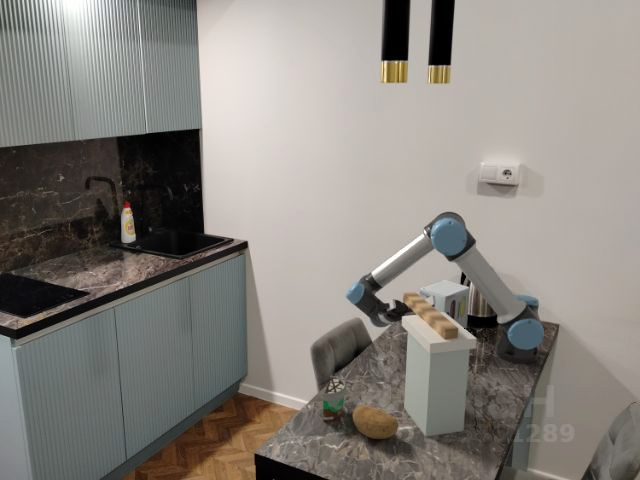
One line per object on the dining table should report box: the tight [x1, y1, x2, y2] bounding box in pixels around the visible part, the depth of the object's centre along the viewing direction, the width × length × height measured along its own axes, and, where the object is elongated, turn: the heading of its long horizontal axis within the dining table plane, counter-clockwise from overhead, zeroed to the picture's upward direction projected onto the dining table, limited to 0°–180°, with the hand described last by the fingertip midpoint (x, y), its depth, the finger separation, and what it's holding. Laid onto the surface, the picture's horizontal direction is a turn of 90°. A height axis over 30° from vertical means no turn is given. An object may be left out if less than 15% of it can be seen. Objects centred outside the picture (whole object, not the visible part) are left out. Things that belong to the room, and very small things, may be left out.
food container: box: [322, 375, 348, 423], centre depth 182 cm, size 12×6×10 cm, turn 168°
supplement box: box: [418, 279, 470, 329], centre depth 244 cm, size 17×13×18 cm
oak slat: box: [402, 291, 458, 339], centre depth 179 cm, size 30×4×3 cm, turn 15°
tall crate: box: [401, 312, 478, 438], centre depth 177 cm, size 20×14×30 cm
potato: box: [352, 404, 399, 440], centre depth 171 cm, size 10×14×8 cm
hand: (414, 301), depth 188 cm, fingers open, 13 cm apart
